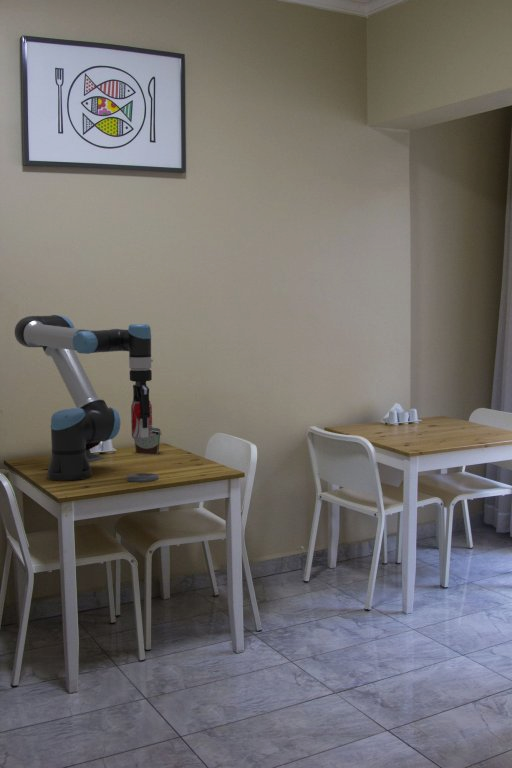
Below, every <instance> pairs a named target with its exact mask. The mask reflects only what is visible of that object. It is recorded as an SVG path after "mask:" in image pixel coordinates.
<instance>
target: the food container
mask: <svg viewBox="0 0 512 768" xmlns="http://www.w3.org/2000/svg"><path fill="white" fill-rule="evenodd" d="M161 436H162V430H161V428H159V427H152V437H151V438H150V439H147V440H135V439H134V440H133V441H134V448H135V454H136V453H140V454H139V455H150V454H154V455H153V456H159V453H160V451H159V450H160V441H161Z"/></svg>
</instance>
